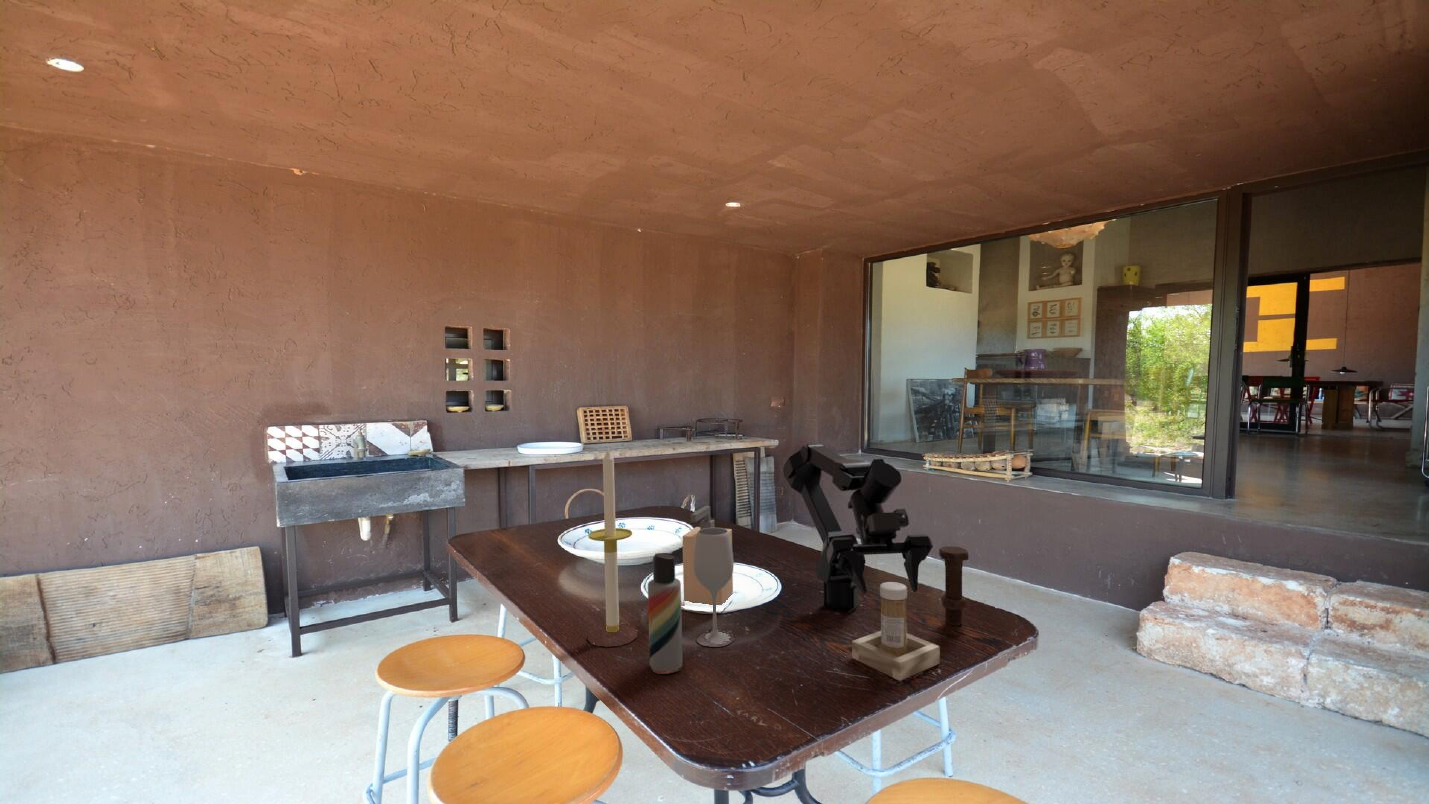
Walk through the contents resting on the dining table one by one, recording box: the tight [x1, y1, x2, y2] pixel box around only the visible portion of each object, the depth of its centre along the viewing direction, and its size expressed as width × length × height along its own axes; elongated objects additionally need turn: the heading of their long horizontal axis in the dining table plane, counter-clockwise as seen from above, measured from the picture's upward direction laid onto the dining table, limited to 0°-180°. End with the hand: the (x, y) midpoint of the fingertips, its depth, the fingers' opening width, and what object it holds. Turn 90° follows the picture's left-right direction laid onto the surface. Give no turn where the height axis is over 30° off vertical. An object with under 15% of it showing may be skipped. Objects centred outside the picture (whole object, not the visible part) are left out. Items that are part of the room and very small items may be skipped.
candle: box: [587, 448, 633, 632], centre depth 121 cm, size 10×10×38 cm
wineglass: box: [694, 527, 735, 644], centre depth 119 cm, size 8×8×21 cm
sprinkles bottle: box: [879, 581, 908, 657], centre depth 109 cm, size 5×5×13 cm
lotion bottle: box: [647, 552, 683, 671], centre depth 108 cm, size 6×6×20 cm
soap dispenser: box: [682, 505, 734, 605], centre depth 136 cm, size 13×9×22 cm
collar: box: [851, 630, 941, 682], centre depth 110 cm, size 10×10×3 cm
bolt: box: [938, 545, 969, 626], centre depth 125 cm, size 6×5×15 cm
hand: (890, 592), depth 111 cm, fingers open, 9 cm apart
